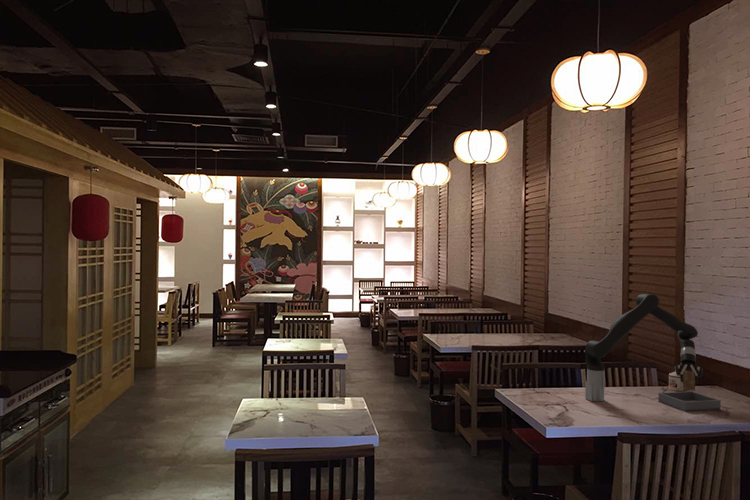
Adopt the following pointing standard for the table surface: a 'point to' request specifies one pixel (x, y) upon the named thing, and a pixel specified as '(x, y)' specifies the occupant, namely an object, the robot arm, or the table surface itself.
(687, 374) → the walnut crate
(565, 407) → the table surface
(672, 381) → the teacup with lid
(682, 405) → the grey tray
